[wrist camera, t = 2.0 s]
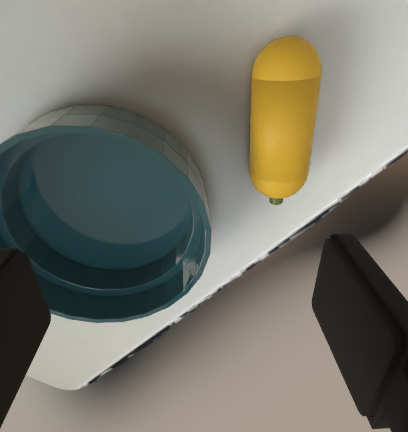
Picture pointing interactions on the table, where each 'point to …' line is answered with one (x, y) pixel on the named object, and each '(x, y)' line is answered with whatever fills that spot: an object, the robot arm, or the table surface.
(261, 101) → the squash
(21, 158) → the teal shallow dish
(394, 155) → the table surface
